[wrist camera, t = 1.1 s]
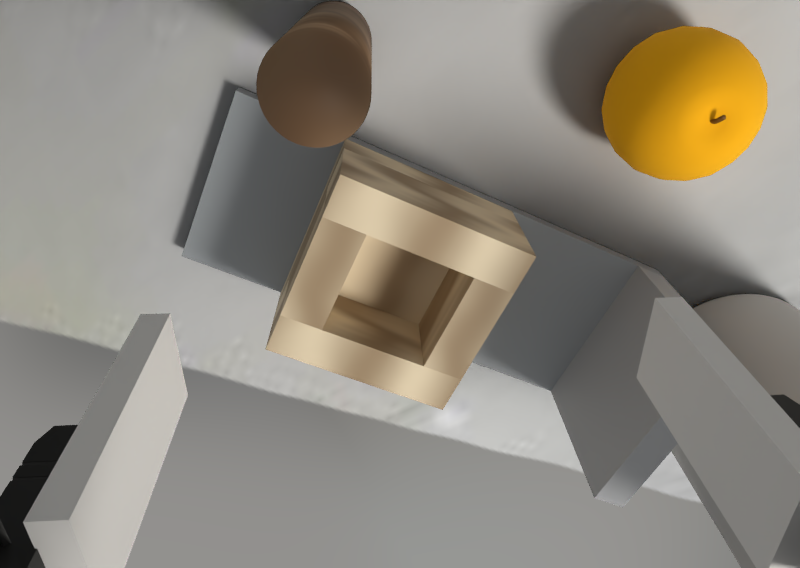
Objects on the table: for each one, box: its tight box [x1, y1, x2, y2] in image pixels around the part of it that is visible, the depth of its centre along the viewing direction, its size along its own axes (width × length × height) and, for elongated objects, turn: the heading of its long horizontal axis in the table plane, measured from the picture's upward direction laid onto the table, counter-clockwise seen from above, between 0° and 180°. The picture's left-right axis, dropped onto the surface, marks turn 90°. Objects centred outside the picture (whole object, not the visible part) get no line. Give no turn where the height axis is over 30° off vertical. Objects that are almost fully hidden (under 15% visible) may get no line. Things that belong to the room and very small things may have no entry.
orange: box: [602, 26, 767, 181], centre depth 33 cm, size 8×8×8 cm
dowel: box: [257, 1, 372, 148], centre depth 28 cm, size 4×4×14 cm
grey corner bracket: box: [182, 87, 681, 507], centre depth 36 cm, size 29×11×11 cm, turn 65°
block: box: [266, 139, 536, 410], centre depth 36 cm, size 11×11×6 cm
